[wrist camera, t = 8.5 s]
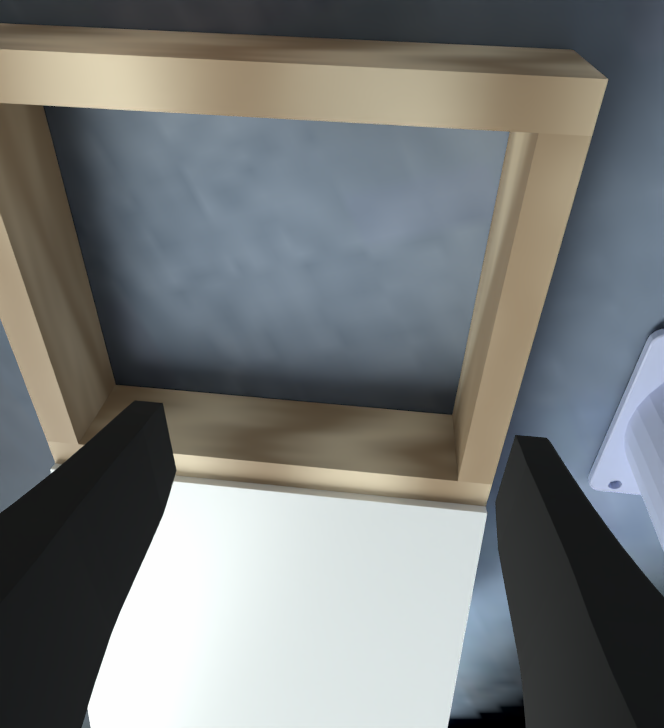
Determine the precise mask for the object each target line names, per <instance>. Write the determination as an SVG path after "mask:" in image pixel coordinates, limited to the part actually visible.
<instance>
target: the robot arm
mask: <svg viewBox="0 0 664 728" xmlns="http://www.w3.org/2000/svg"><path fill="white" fill-rule="evenodd" d="M176 471H177V470H176V465H175V460H174V455H173V450H172V445H171V440H170V435H169V431H168V426H167V421H166V416H165V411H164V406H163V403H159V402H148V401H137V400H134V401H133V402H132V403H131V404H130V405H129V406H127V407H126V408H125V409H124V410H123V411H122V412H120V413H119V414H118V415H117V416H116V417H115V418H114V419H113V420H112V421H110V422H109V423H108V424H107V425H106V426H105V427H104V428H103V429H102V430H100V431H99V432H98V433H97V434H96V435H95V436H94V437H93V438H91V439H90V440H89V441H88V442H87V443H86V444H85V445H84V446H83V447H81V448H80V449H79V450H78V451H77V452H76V453H74V454H73V455H72V456H71V457H70V458H69V459H67V460H66V461H65V462H64V463H63V464H62V465H60V466H59V467H58V468H57V469H56V470H55V471H53V472H52V473H51V474H50V475H49V476H47V477H46V478H45V479H44V480H42V481H41V482H40V483H39V484H37V485H36V486H35V487H34V488H32V489H31V490H30V491H29V492H27V493H26V494H25V495H23V496H22V497H21V498H20V499H18V500H17V501H16V502H15V503H13V504H12V505H11V506H9V507H8V508H7V509H5V510H4V511H3V512H1V513H0V728H81V727H82V724H83V721H84V718H85V714H86V711H87V708H88V705H89V701H90V698H91V695H92V692H93V689H94V685H95V682H96V679H97V676H98V673H99V670H100V667H101V664H102V661H103V658H104V655H105V652H106V649H107V646H108V643H109V640H110V637H111V634H112V632H113V629H114V627H115V624H116V622H117V619H118V616H119V614H120V611H121V609H122V607H123V605H124V602H125V600H126V598H127V596H128V594H129V591H130V589H131V587H132V585H133V582H134V580H135V578H136V576H137V573H138V571H139V569H140V567H141V564H142V562H143V560H144V558H145V556H146V553H147V551H148V549H149V547H150V544H151V542H152V540H153V537H154V535H155V533H156V531H157V528H158V526H159V524H160V521H161V519H162V517H163V514H164V511H165V508H166V505H167V501H168V498H169V495H170V492H171V488H172V485H173V481H174V478H175V474H176ZM588 481H589V484H590V486H591V488H593V489H594V490H598V491H606V492H617V493H627V494H637V495H642V498H643V500H644V503H645V505H646V508H647V510H648V513H649V515H650V518H651V521H652V523H653V526H654V528H655V531H656V533H657V536H658V538H659V541H660V543H661V546H662V548H663V551H664V329H660V330H657V331H655V332H654V333H652V334H651V335H650V336H649V338H648V339H647V341H646V344H645V346H644V348H643V351H642V353H641V355H640V357H639V360H638V362H637V364H636V367H635V369H634V371H633V374H632V376H631V378H630V381H629V383H628V385H627V388H626V390H625V392H624V395H623V397H622V399H621V402H620V404H619V406H618V408H617V411H616V413H615V415H614V418H613V420H612V422H611V425H610V427H609V429H608V432H607V434H606V436H605V439H604V441H603V443H602V446H601V448H600V450H599V452H598V455H597V457H596V459H595V462H594V464H593V466H592V469H591V471H590V473H589V476H588ZM612 481H614V482H612ZM495 505H496V523H497V538H498V551H499V556H500V562H501V568H502V573H503V578H504V584H505V589H506V595H507V600H508V605H509V611H510V616H511V621H512V626H513V632H514V637H515V642H516V648H517V653H518V658H519V665H520V672H521V679H522V688H523V699H524V710H525V721H526V728H664V597H663V596H662V594H661V593H660V592H659V591H658V590H657V589H656V587H655V586H654V585H653V584H652V583H651V582H650V580H649V579H648V578H647V577H646V576H645V574H644V573H643V572H642V571H641V569H640V568H639V567H638V566H637V564H636V563H635V562H634V561H633V559H632V558H631V557H630V556H629V555H628V553H627V552H626V551H625V549H624V548H623V547H622V545H621V544H620V543H619V542H618V540H617V539H616V538H615V536H614V535H613V534H612V532H611V531H610V529H609V528H608V527H607V525H606V524H605V523H604V521H603V520H602V518H601V517H600V516H599V514H598V513H597V512H596V510H595V509H594V507H593V506H592V505H591V503H590V502H589V500H588V499H587V497H586V496H585V494H584V493H583V491H582V490H581V488H580V487H579V485H578V484H577V483H576V481H575V480H574V478H573V476H572V475H571V473H570V472H569V470H568V469H567V467H566V466H565V464H564V463H563V461H562V460H561V458H560V456H559V455H558V453H557V452H556V450H555V449H554V447H553V445H552V444H551V442H550V441H549V440H548V439H547V438H542V437H531V436H520V435H515V438H514V442H513V445H512V448H511V452H510V455H509V458H508V462H507V465H506V468H505V472H504V475H503V478H502V482H501V485H500V488H499V492H498V495H497V498H496V502H495Z"/></svg>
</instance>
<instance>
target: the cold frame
mask: <svg viewBox="0 0 664 728" xmlns="http://www.w3.org/2000/svg"><path fill="white" fill-rule="evenodd" d="M607 82H608V79H607V78H606V77H605V76H604V75H603V74H601V73H600V72H599V71H598V70H597V69H596V68H594V67H593V66H592V65H591V64H590V63H588V62H587V61H586V60H585V59H584V58H582V57H581V56H580V55H579V54H578V53H576V52H575V51H574V50H567V49H546V48H524V47H503V46H481V45H460V44H438V43H416V42H395V41H373V40H352V39H330V38H308V37H287V36H265V35H244V34H222V33H200V32H179V31H157V30H136V29H114V28H93V27H71V26H49V25H28V24H6V23H0V319H1V321H2V324H3V326H4V329H5V332H6V334H7V337H8V339H9V342H10V345H11V347H12V350H13V353H14V355H15V358H16V360H17V363H18V366H19V368H20V371H21V374H22V376H23V379H24V381H25V384H26V387H27V389H28V392H29V394H30V397H31V400H32V402H33V405H34V408H35V410H36V413H37V415H38V418H39V421H40V423H41V426H42V429H43V431H44V434H45V436H46V439H47V442H48V444H49V447H50V450H51V452H52V455H53V457H54V460H55V463H56V464H55V465H54V466H53V467H52V468H51V469H50V470H51V473H52V472H53V471H55V470H56V469H57V468H58V467H59V466H60V465H62V464H63V463H64V462H65V461H66V460H67V459H69V458H70V457H71V456H72V455H73V454H74V453H76V452H77V451H78V450H79V449H80V448H81V447H83V446H84V445H85V444H86V443H87V442H88V441H89V440H90V439H91V438H93V437H94V436H95V435H96V434H97V433H98V432H99V431H100V430H102V429H103V428H104V427H105V426H106V425H107V424H108V423H109V422H110V421H112V420H113V419H114V418H115V417H116V416H117V415H118V414H119V413H120V412H122V411H123V410H124V409H125V408H126V407H127V406H129V405H130V404H131V403H132V402H133V401H134V400H137V401H148V402H159V403H163V406H164V411H165V416H166V421H167V426H168V431H169V435H170V440H171V445H172V450H173V455H174V460H175V465H176V470H177V471H176V474H175V478H174V481H173V485H172V488H171V492H170V495H169V498H168V501H167V505H166V508H165V511H164V514H163V517H162V519H161V521H160V524H159V526H158V528H157V531H156V533H155V535H154V537H153V540H152V542H151V544H150V547H149V549H148V551H147V553H146V556H145V558H144V560H143V562H142V564H141V567H140V569H139V571H138V573H137V576H136V578H135V580H134V582H133V585H132V587H131V589H130V591H129V594H128V596H127V598H126V600H125V602H124V605H123V607H122V609H121V611H120V614H119V616H118V619H117V622H116V624H115V627H114V629H113V632H112V634H111V637H110V640H109V643H108V646H107V649H106V652H105V655H104V658H103V661H102V664H101V667H100V670H99V673H98V676H97V679H96V682H95V685H94V689H93V692H92V695H91V698H90V701H89V705H88V713H89V719H90V725H91V728H447V727H448V721H449V716H450V711H451V705H452V700H453V694H454V689H455V684H456V678H457V673H458V668H459V662H460V657H461V652H462V646H463V641H464V635H465V630H466V625H467V619H468V614H469V609H470V603H471V598H472V593H473V587H474V582H475V576H476V571H477V566H478V560H479V555H480V550H481V544H482V539H483V533H484V528H485V523H486V517H487V510H486V504H487V500H488V497H489V493H490V490H491V486H492V483H493V479H494V476H495V472H496V469H497V465H498V462H499V458H500V455H501V451H502V448H503V444H504V441H505V437H506V434H507V431H508V427H509V424H510V420H511V417H512V413H513V410H514V406H515V403H516V399H517V396H518V392H519V389H520V385H521V382H522V378H523V375H524V371H525V368H526V364H527V361H528V357H529V354H530V350H531V347H532V343H533V340H534V336H535V333H536V329H537V326H538V323H539V319H540V316H541V312H542V309H543V305H544V302H545V298H546V295H547V291H548V288H549V284H550V281H551V277H552V274H553V270H554V267H555V263H556V260H557V256H558V253H559V249H560V246H561V242H562V239H563V235H564V232H565V228H566V225H567V221H568V218H569V215H570V211H571V208H572V204H573V201H574V197H575V194H576V190H577V187H578V183H579V180H580V176H581V173H582V169H583V166H584V162H585V159H586V155H587V152H588V148H589V145H590V141H591V138H592V134H593V131H594V127H595V124H596V120H597V117H598V113H599V110H600V107H601V103H602V100H603V96H604V93H605V89H606V86H607ZM43 105H46V106H64V107H82V108H100V109H118V110H135V111H153V112H171V113H189V114H207V115H224V116H242V117H260V118H278V119H296V120H313V121H331V122H349V123H367V124H385V125H403V126H420V127H438V128H456V129H474V130H492V131H509V132H510V133H509V138H508V143H507V148H506V153H505V158H504V163H503V168H502V173H501V178H500V183H499V188H498V193H497V197H496V202H495V207H494V212H493V217H492V222H491V227H490V232H489V237H488V242H487V247H486V252H485V257H484V261H483V266H482V271H481V276H480V281H479V286H478V291H477V296H476V301H475V306H474V311H473V316H472V321H471V326H470V330H469V335H468V340H467V345H466V350H465V355H464V360H463V365H462V370H461V375H460V380H459V385H458V390H457V394H456V399H455V404H454V409H453V414H452V415H447V414H436V413H425V412H414V411H403V410H392V409H380V408H369V407H358V406H347V405H336V404H325V403H314V402H302V401H291V400H280V399H269V398H258V397H247V396H235V395H224V394H213V393H202V392H191V391H180V390H168V389H157V388H146V387H135V386H124V385H116V384H115V380H114V376H113V373H112V369H111V365H110V361H109V357H108V353H107V350H106V346H105V342H104V338H103V334H102V330H101V326H100V323H99V319H98V315H97V311H96V307H95V303H94V300H93V296H92V292H91V288H90V284H89V280H88V277H87V273H86V269H85V265H84V261H83V257H82V253H81V250H80V246H79V242H78V238H77V234H76V230H75V227H74V223H73V219H72V215H71V211H70V207H69V203H68V200H67V196H66V192H65V188H64V184H63V180H62V177H61V173H60V169H59V165H58V161H57V157H56V154H55V150H54V146H53V142H52V138H51V134H50V130H49V127H48V123H47V119H46V115H45V111H44V107H43Z"/></svg>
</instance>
